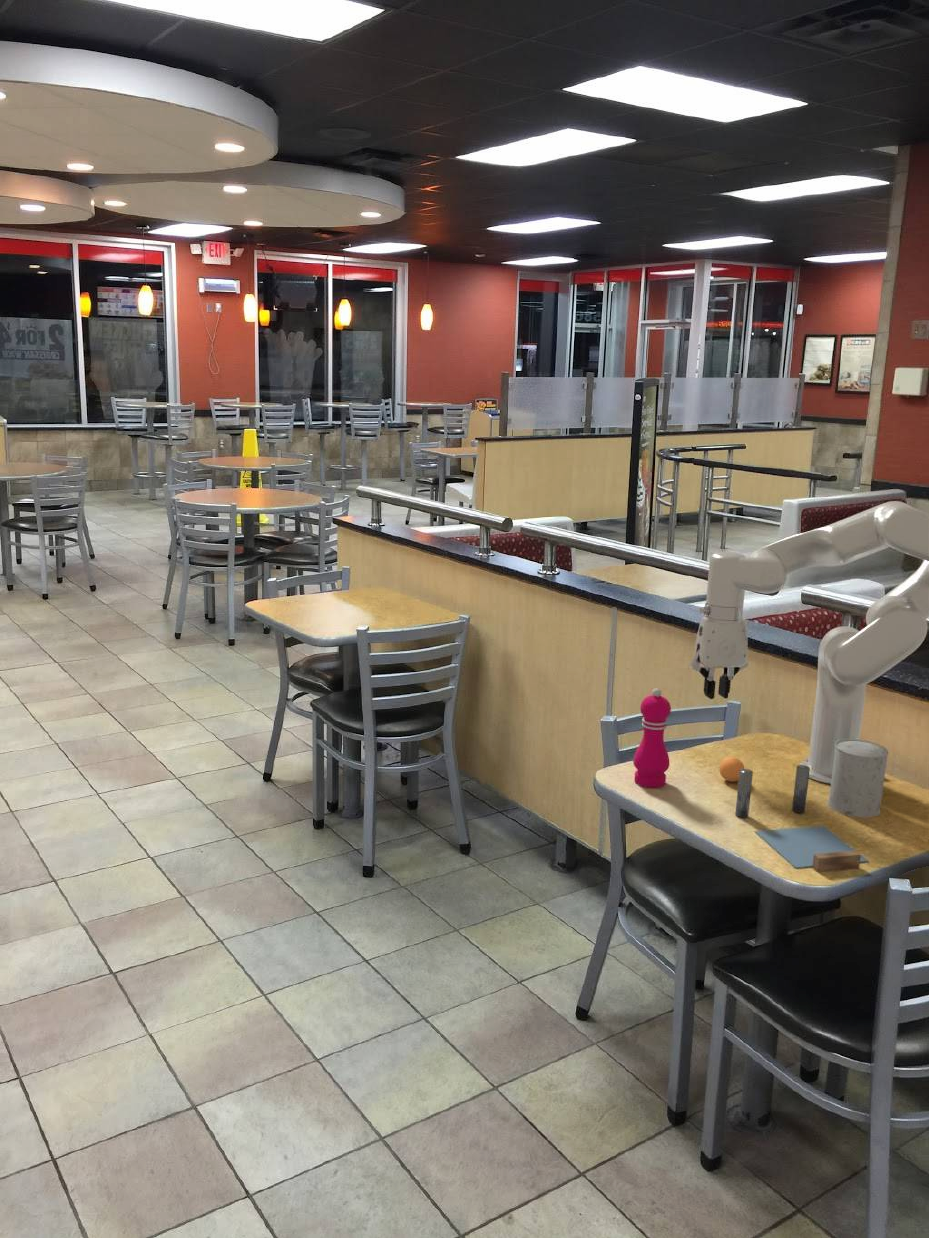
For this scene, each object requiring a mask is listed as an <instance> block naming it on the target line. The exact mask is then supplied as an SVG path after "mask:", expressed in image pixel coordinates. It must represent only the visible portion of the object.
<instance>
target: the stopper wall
mask: <svg viewBox="0 0 929 1238" xmlns="http://www.w3.org/2000/svg"><path fill="white" fill-rule="evenodd" d="M861 855H862V854H861V853H859V851H857V850H856V851H845V852H833V853H822V854H814V857H813V865H812V867H811V868H812V869H813V870H814V871H815V872H817V873H819V872H821V873H822V872H827V871H828V872H831V871H832V872H833V871H840V870H841V871H842V870H852V869H860V863H861V862H860V858H861Z"/></svg>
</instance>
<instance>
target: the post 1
mask: <svg viewBox="0 0 929 1238" xmlns="http://www.w3.org/2000/svg"><path fill="white" fill-rule="evenodd" d="M753 774H754V772H753V770H751V769H748V768H744V769H740V772H739V780H738V784H737V794H736V803H735V813H734V815H735V817H737V818H739V819H748V818H749V813H750V806H751V805H750V801H751V793H752V784H753V777H754V776H753Z"/></svg>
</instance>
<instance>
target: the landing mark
mask: <svg viewBox="0 0 929 1238" xmlns="http://www.w3.org/2000/svg"><path fill="white" fill-rule="evenodd" d="M754 833H755V834H756V835H758V836H759V837H760V838H761V839H762V840H763V841H764V842H765V843H767V845H769V846H770V847H771V848H772V849H773V850H774V851H775V852H776V853H777V854H779V856H781V857H782V858H783V859H784V860H786V861H787V862H788V863H789V864H790V865H791V866H792V867H793V868H794V869H804V868H812V865H813V857H814V854H822V853H833V852H845V851H857V850H856V849H854V848H853V847H852V846H850V845H849V844H848V843H847V842H845V841H844V840H843V839H842V838H840V836H837V835H836V834H835V833H834V832H833V831H831V829H829V828H827V827H826V826H825V825H815V826H806V827H805V826H804V827H801V826H800V827H789V828H778V829H776V828H775V829H766V830H765V829H764V830H755V831H754ZM868 862H869V860H868V859H867V858H866V857H864V856H863V855H862V854H861V858H860V863H868Z"/></svg>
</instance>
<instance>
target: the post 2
mask: <svg viewBox="0 0 929 1238" xmlns="http://www.w3.org/2000/svg"><path fill="white" fill-rule="evenodd" d="M809 772H810V768H809V767H808V766H805V765H800V764H799V765H796V771H795V777H794V779H795V780H794V788H793V795H792V805H791V812H792V813H794V814H797V815H801V814H802V815H803V814H805V813H806V806H807V805H806V804H807V797H808V788H809V787H808V786H809V779H810V778H809Z"/></svg>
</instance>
